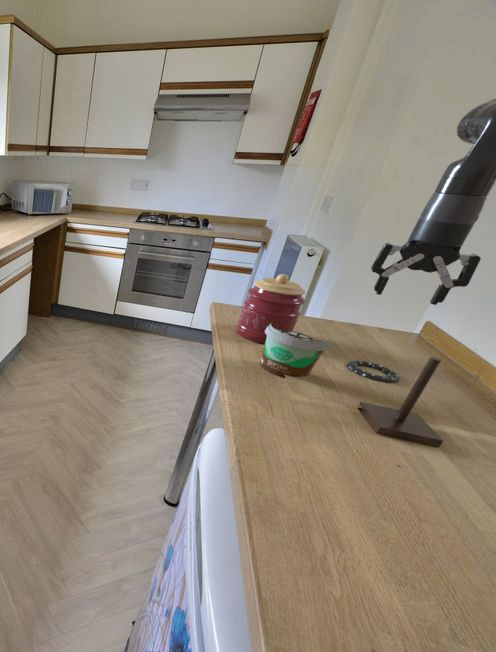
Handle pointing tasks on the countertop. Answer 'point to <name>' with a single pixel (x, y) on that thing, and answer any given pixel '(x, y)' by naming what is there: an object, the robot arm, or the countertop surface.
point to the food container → (291, 352)
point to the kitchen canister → (270, 307)
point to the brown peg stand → (405, 414)
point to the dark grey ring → (390, 378)
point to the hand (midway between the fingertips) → (404, 298)
